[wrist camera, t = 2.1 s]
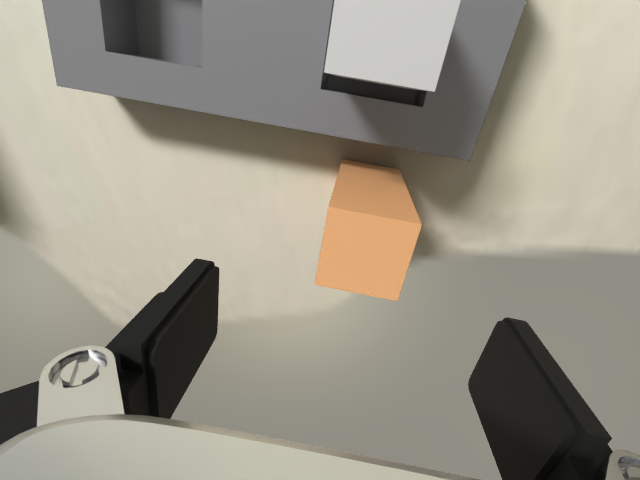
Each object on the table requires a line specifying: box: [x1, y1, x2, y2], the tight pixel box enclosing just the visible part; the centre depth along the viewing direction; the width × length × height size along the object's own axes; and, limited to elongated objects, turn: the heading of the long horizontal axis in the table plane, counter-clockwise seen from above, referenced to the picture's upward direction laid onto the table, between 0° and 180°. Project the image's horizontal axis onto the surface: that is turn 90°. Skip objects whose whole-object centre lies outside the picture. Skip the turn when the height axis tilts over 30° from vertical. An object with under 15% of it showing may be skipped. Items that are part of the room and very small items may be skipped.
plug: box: [315, 159, 422, 301], centre depth 19 cm, size 4×4×10 cm
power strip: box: [42, 0, 527, 161], centre depth 16 cm, size 24×10×10 cm, turn 81°
